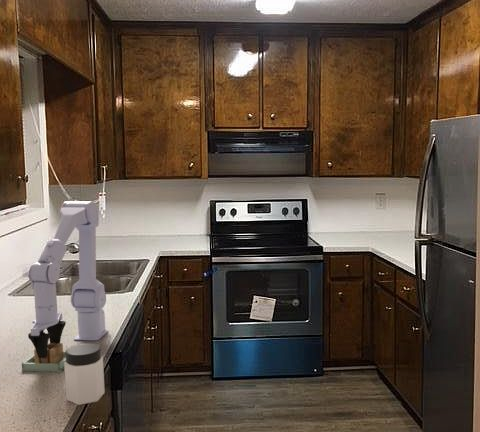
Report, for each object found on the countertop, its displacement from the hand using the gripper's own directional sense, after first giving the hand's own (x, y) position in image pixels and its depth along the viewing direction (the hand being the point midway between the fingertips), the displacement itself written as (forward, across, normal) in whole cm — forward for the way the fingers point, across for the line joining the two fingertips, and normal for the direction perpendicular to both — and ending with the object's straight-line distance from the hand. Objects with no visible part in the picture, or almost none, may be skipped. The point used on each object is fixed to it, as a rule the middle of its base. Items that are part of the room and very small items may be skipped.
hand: (49, 352), depth 151 cm
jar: (+4, +19, +18) cm, 27 cm away
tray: (+3, 0, 0) cm, 3 cm away
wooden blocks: (+3, 0, 0) cm, 3 cm away
